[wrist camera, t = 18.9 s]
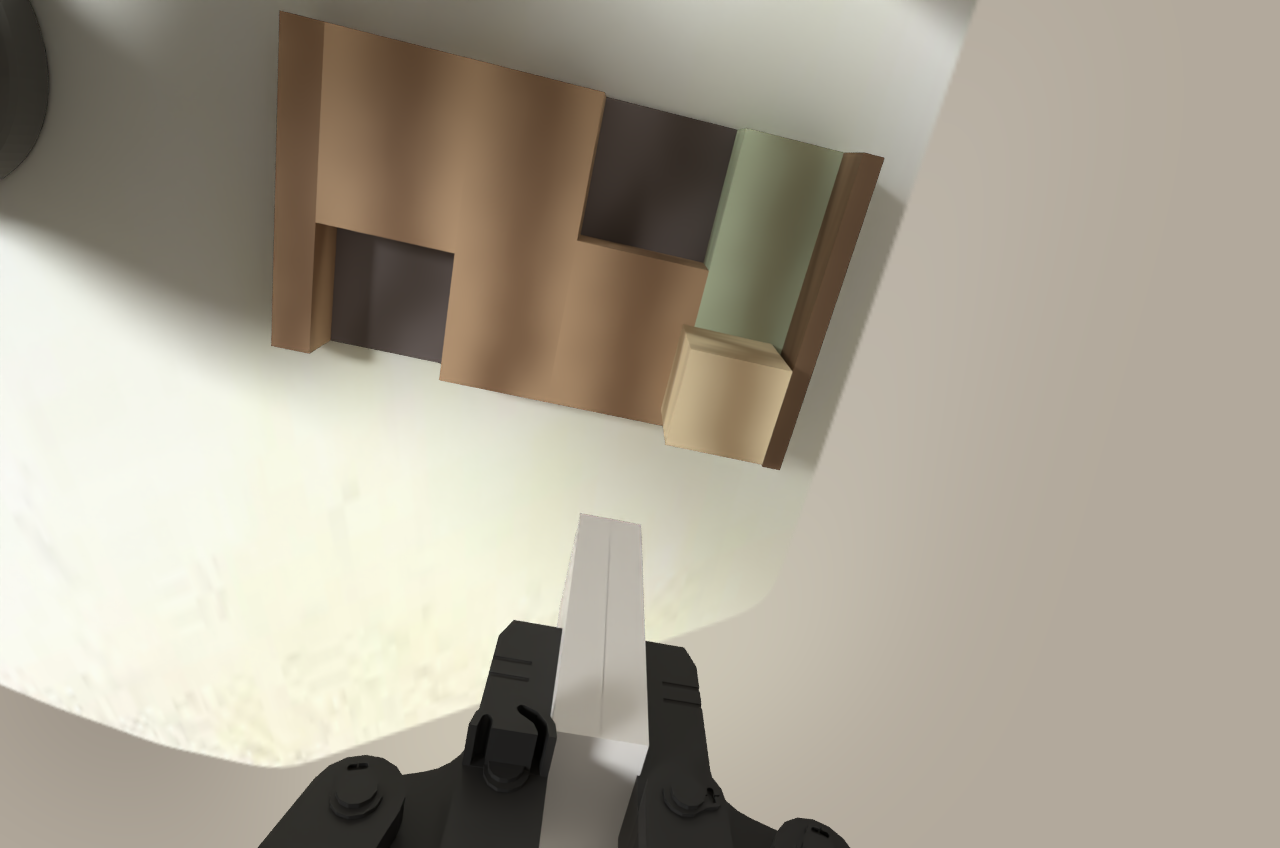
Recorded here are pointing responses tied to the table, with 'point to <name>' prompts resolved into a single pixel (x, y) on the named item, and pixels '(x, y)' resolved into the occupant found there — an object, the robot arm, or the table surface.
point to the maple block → (723, 394)
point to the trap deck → (542, 226)
